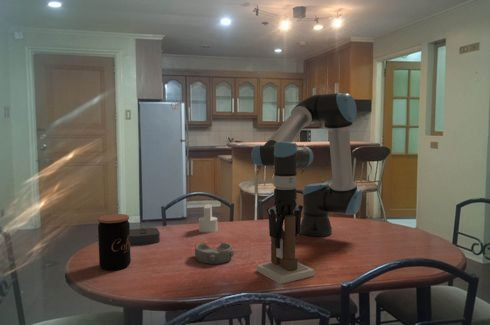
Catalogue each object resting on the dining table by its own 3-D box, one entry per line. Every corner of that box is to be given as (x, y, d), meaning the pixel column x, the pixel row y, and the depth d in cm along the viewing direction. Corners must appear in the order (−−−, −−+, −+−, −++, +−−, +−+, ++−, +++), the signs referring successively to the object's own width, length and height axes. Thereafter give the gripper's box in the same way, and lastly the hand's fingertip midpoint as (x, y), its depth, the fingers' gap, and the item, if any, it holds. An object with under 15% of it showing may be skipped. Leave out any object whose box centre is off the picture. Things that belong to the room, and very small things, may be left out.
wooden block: (279, 260, 144) (279, 210, 143) (297, 269, 135) (298, 216, 133) (270, 262, 142) (270, 211, 141) (288, 271, 133) (289, 217, 131)
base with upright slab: (216, 233, 191) (216, 208, 190) (197, 233, 191) (197, 208, 190) (218, 228, 200) (218, 204, 199) (199, 228, 200) (199, 204, 199)
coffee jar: (113, 273, 139) (111, 221, 137) (93, 268, 144) (91, 218, 143) (137, 264, 148) (135, 215, 146) (117, 259, 153) (115, 212, 152)
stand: (256, 270, 141) (256, 263, 141) (289, 263, 148) (289, 257, 148) (279, 284, 129) (280, 276, 129) (314, 275, 136) (314, 268, 136)
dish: (191, 256, 158) (190, 243, 157) (224, 251, 163) (224, 239, 163) (202, 268, 144) (201, 254, 144) (238, 262, 150) (238, 249, 149)
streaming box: (127, 239, 182) (127, 229, 181) (156, 236, 186) (156, 227, 186) (129, 247, 170) (129, 236, 169) (160, 244, 174) (160, 234, 174)
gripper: (270, 191, 128) (270, 263, 130) (312, 187, 137) (311, 255, 139) (258, 188, 135) (258, 257, 137) (298, 184, 143) (297, 249, 145)
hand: (284, 256), depth 138 cm, fingers closed on wooden block, 4 cm apart
